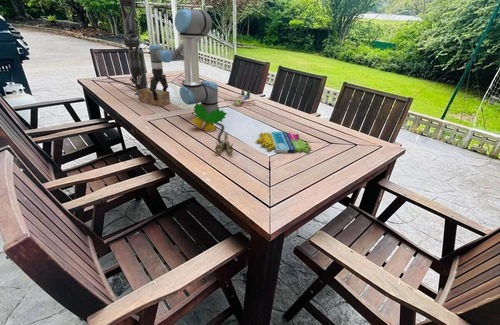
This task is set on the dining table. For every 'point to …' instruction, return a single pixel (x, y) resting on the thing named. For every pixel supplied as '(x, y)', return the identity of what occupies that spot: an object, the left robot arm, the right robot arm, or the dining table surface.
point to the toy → (241, 99)
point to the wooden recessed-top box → (147, 97)
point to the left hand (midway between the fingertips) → (138, 89)
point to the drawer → (137, 94)
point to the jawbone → (224, 145)
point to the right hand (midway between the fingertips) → (160, 98)
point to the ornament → (207, 117)
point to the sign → (283, 142)
